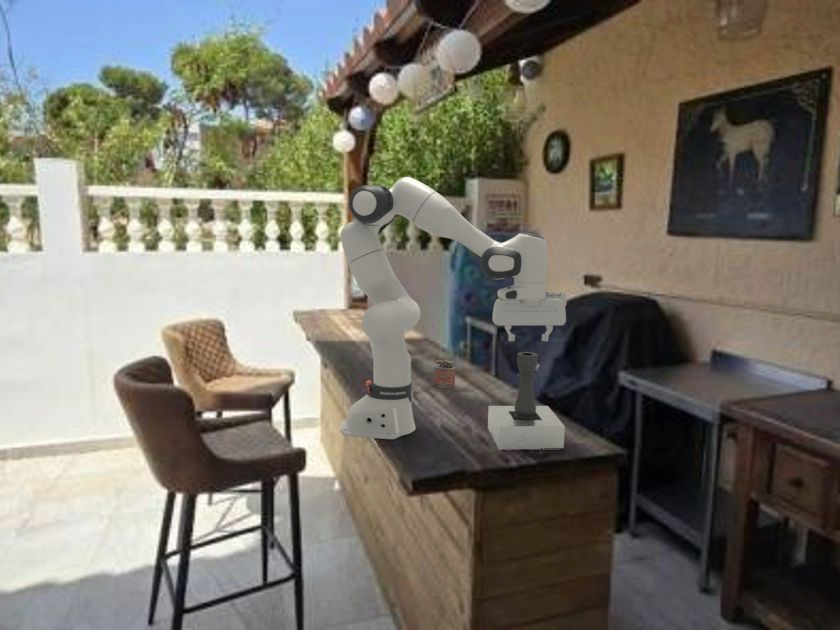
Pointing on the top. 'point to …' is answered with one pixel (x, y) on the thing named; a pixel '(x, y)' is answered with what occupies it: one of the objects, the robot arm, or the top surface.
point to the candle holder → (526, 385)
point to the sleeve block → (525, 429)
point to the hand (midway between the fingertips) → (528, 340)
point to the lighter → (444, 374)
